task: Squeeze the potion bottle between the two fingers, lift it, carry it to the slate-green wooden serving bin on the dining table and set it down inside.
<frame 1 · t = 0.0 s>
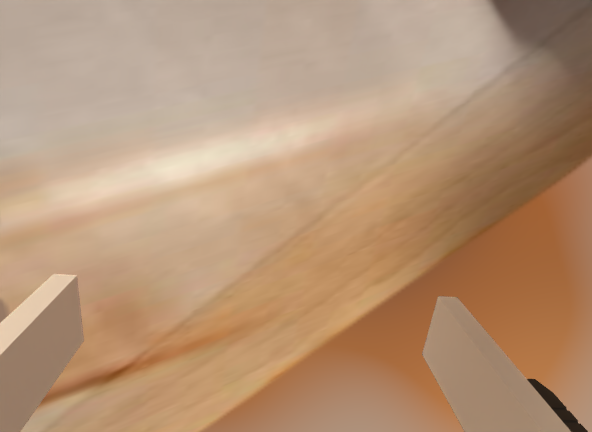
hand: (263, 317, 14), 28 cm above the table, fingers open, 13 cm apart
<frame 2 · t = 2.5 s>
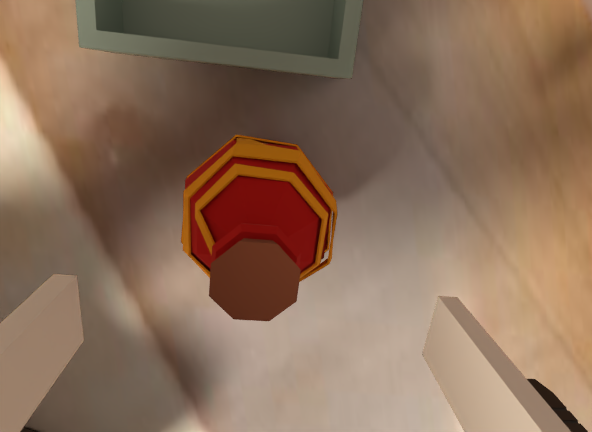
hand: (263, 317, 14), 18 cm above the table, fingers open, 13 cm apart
potion bottle: (260, 188, 31), on the table
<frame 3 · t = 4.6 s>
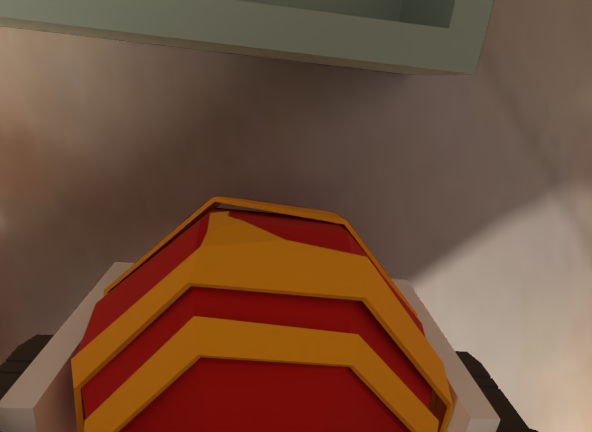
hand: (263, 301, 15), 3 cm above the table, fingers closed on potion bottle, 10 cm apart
potion bottle: (265, 266, 18), on the table, touching gripper
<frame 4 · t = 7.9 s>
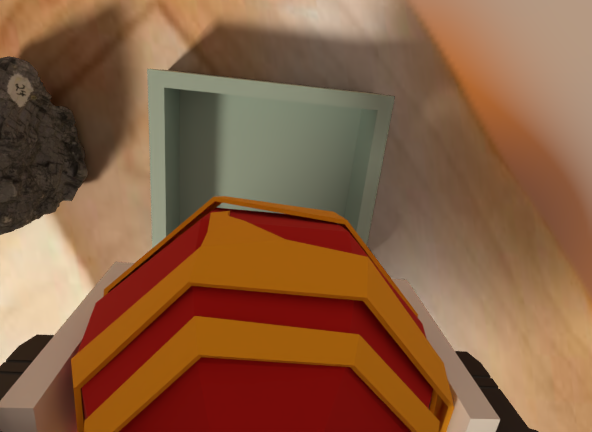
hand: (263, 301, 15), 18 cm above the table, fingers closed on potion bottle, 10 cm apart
potion bottle: (265, 266, 18), point 15 cm above the table, touching gripper
serving bin: (266, 182, 32), on the table
rock: (24, 135, 29), on the table
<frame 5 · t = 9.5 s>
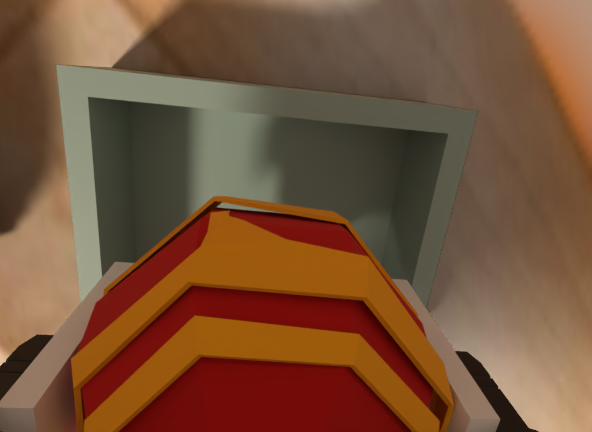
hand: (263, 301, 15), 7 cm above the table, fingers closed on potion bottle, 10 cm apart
potion bottle: (266, 266, 18), point 4 cm above the table, touching gripper
serving bin: (264, 232, 22), on the table
when the fingers open (5 cm above the table, at t = 11.1 s): potion bottle drops 1 cm, resting on serving bin.
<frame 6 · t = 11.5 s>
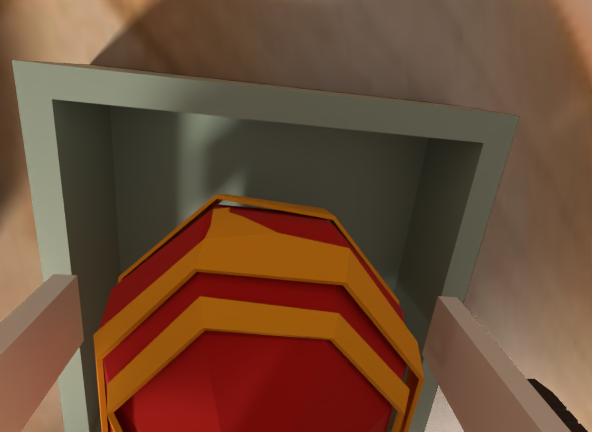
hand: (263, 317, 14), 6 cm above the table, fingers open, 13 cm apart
potion bottle: (264, 258, 19), resting on serving bin
serving bin: (264, 250, 19), on the table
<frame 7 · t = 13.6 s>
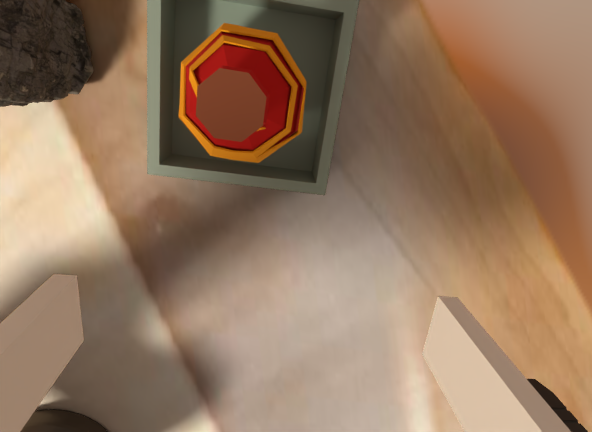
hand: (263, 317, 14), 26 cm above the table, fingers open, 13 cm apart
potion bottle: (249, 93, 35), resting on serving bin
serving bin: (250, 89, 36), on the table
rock: (39, 35, 33), on the table
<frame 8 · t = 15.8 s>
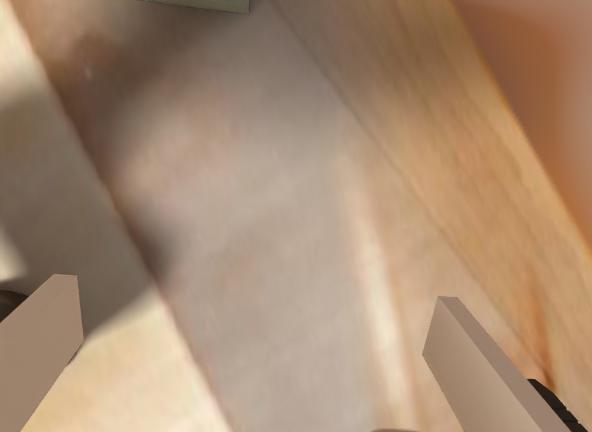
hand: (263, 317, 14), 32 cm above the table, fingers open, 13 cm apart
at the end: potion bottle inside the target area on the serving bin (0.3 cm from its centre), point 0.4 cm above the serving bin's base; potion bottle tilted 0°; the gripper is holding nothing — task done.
